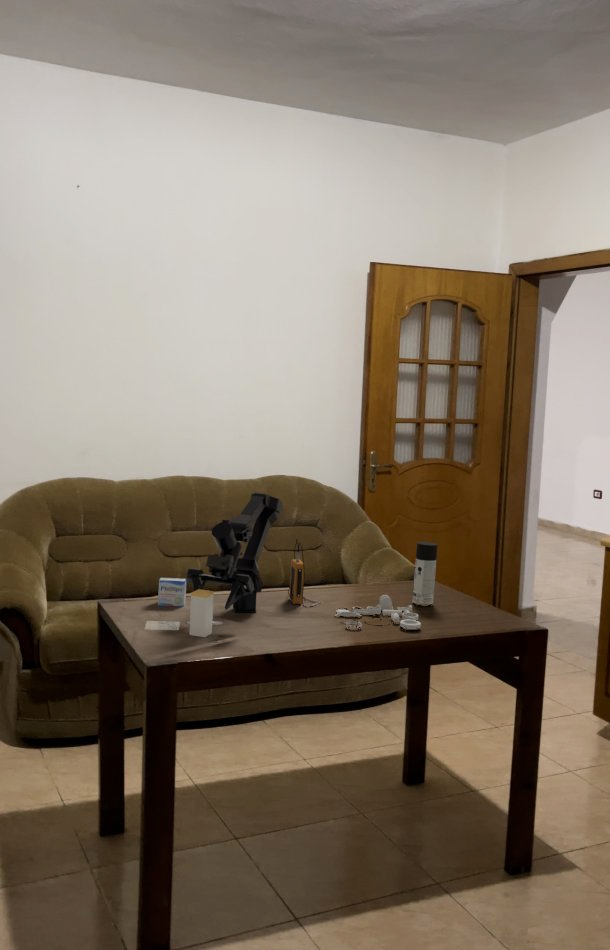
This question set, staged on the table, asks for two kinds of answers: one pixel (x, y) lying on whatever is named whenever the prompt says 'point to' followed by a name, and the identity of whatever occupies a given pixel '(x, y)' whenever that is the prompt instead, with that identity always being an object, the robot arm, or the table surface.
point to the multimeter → (297, 580)
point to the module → (201, 613)
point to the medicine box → (172, 592)
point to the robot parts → (386, 608)
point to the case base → (162, 625)
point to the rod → (212, 623)
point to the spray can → (424, 573)
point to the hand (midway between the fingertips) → (210, 606)
